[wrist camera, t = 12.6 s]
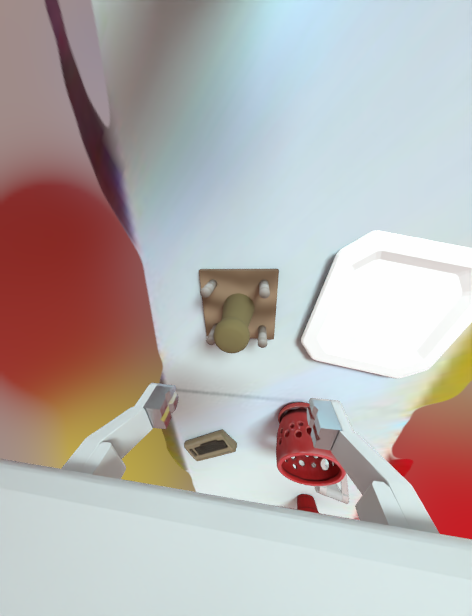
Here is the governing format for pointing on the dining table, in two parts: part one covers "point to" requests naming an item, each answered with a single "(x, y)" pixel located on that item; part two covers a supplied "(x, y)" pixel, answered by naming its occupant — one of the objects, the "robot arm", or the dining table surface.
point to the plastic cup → (306, 503)
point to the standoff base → (242, 281)
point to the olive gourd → (234, 323)
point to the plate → (391, 304)
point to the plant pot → (303, 450)
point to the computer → (210, 445)
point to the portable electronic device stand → (334, 488)
